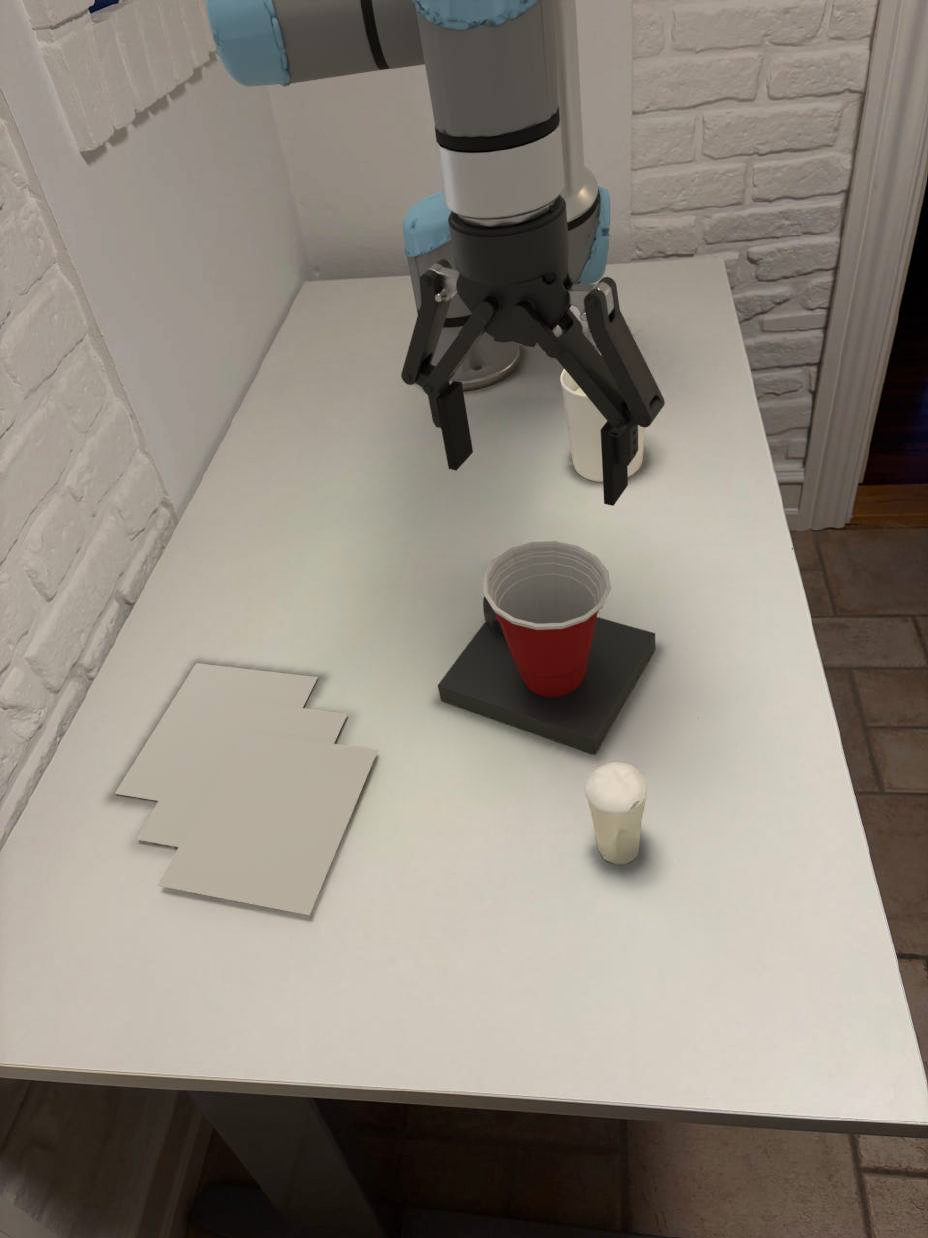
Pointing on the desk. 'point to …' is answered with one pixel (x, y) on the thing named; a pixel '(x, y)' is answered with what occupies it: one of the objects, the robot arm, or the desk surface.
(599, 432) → the white paper cup
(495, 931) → the desk surface
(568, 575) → the plastic cup
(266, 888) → the paper stack
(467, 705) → the dark grey flat block
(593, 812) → the milkshake
